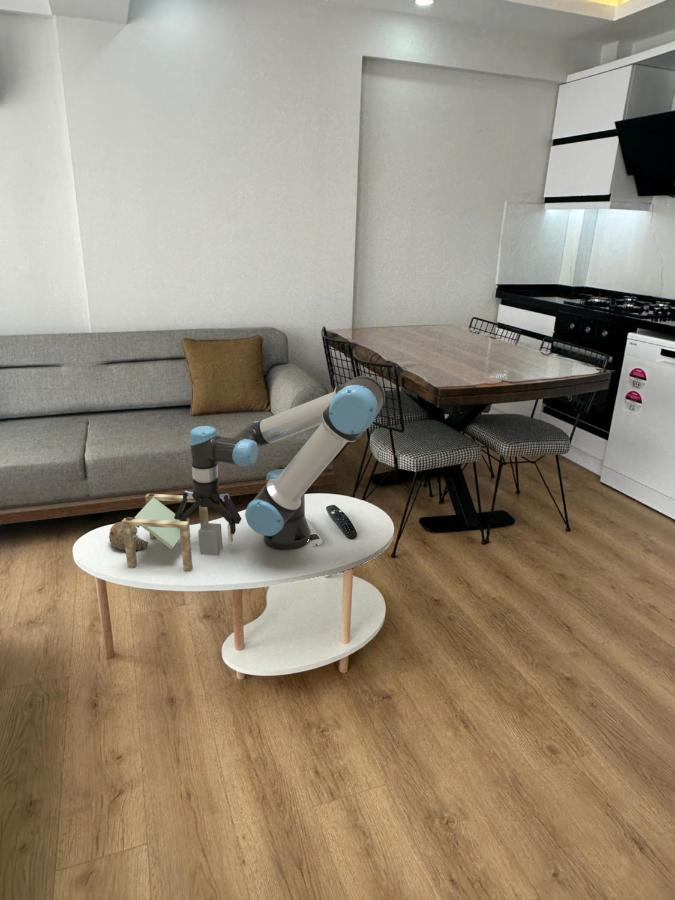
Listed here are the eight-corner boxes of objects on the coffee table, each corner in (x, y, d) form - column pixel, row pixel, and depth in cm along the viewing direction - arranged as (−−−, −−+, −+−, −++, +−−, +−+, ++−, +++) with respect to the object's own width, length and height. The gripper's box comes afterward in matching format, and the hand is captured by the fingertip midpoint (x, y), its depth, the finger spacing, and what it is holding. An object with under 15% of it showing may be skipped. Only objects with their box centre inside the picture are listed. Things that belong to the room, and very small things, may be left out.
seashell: (121, 545, 198) (104, 522, 194) (148, 530, 199) (132, 506, 195) (120, 565, 186) (102, 541, 181) (150, 548, 187) (132, 524, 183)
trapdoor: (182, 532, 191) (189, 524, 190) (166, 554, 178) (173, 547, 177) (147, 504, 189) (153, 496, 187) (127, 525, 176) (134, 517, 174)
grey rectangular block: (222, 546, 190) (221, 523, 187) (217, 555, 185) (215, 532, 182) (205, 545, 190) (203, 522, 187) (200, 554, 185) (198, 531, 182)
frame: (209, 539, 194) (206, 494, 188) (190, 571, 176) (185, 523, 170) (152, 536, 195) (147, 492, 190) (127, 567, 178) (121, 519, 172)
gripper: (249, 475, 181) (251, 537, 189) (169, 470, 183) (174, 532, 191) (243, 485, 174) (245, 550, 182) (159, 480, 176) (165, 543, 184)
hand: (209, 541), depth 186 cm, fingers open, 13 cm apart
